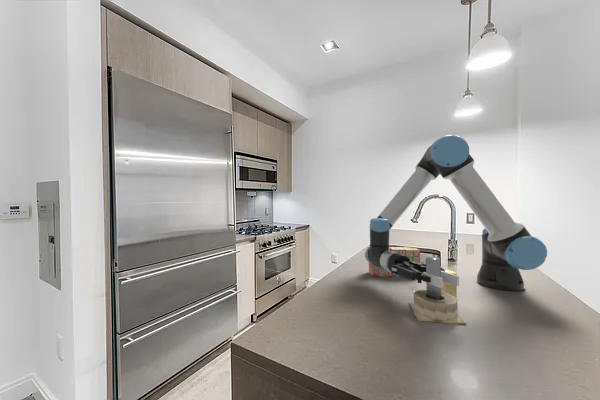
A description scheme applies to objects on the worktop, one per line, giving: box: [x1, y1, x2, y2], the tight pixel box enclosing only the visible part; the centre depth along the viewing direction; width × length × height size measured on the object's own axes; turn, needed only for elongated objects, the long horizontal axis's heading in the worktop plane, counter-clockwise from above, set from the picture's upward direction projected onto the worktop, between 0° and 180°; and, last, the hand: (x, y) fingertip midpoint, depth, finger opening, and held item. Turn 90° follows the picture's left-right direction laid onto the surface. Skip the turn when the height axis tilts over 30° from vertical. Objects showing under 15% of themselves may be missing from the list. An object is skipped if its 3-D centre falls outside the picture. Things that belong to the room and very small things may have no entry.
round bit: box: [425, 256, 442, 300], centre depth 78 cm, size 4×4×16 cm
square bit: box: [441, 269, 458, 300], centre depth 88 cm, size 4×4×10 cm
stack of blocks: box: [368, 246, 421, 277], centre depth 118 cm, size 21×6×12 cm, turn 87°
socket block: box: [408, 289, 467, 326], centre depth 78 cm, size 12×12×5 cm
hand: (449, 282), depth 73 cm, fingers open, 5 cm apart
